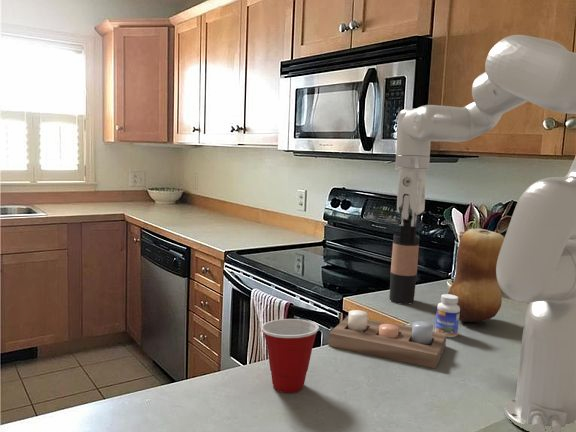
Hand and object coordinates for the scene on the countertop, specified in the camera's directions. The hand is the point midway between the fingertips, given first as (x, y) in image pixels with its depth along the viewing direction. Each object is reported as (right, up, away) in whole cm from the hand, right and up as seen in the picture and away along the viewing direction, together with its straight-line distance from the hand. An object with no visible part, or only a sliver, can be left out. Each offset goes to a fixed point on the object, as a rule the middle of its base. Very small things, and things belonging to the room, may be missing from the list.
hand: (407, 243), depth 120 cm
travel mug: (+6, -19, +35) cm, 41 cm away
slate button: (+2, -22, -4) cm, 22 cm away
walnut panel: (-5, -24, -1) cm, 24 cm away
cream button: (-11, -21, +2) cm, 24 cm away
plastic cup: (-28, -26, -22) cm, 44 cm away
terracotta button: (-5, -23, -1) cm, 24 cm away
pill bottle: (+12, -23, +9) cm, 28 cm away
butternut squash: (+22, -22, +19) cm, 37 cm away
